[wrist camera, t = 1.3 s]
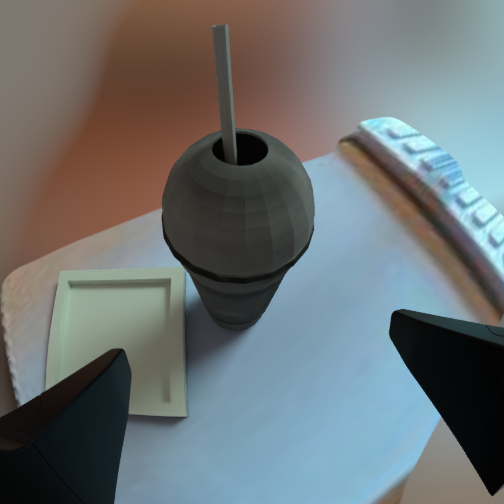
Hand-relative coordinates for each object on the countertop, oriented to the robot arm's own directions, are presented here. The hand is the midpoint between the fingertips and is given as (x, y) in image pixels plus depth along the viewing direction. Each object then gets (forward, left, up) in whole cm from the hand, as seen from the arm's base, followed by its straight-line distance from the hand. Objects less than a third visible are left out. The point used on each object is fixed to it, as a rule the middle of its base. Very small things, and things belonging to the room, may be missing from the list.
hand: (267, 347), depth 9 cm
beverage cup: (+7, +1, -14) cm, 15 cm away
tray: (+4, +11, -13) cm, 17 cm away
